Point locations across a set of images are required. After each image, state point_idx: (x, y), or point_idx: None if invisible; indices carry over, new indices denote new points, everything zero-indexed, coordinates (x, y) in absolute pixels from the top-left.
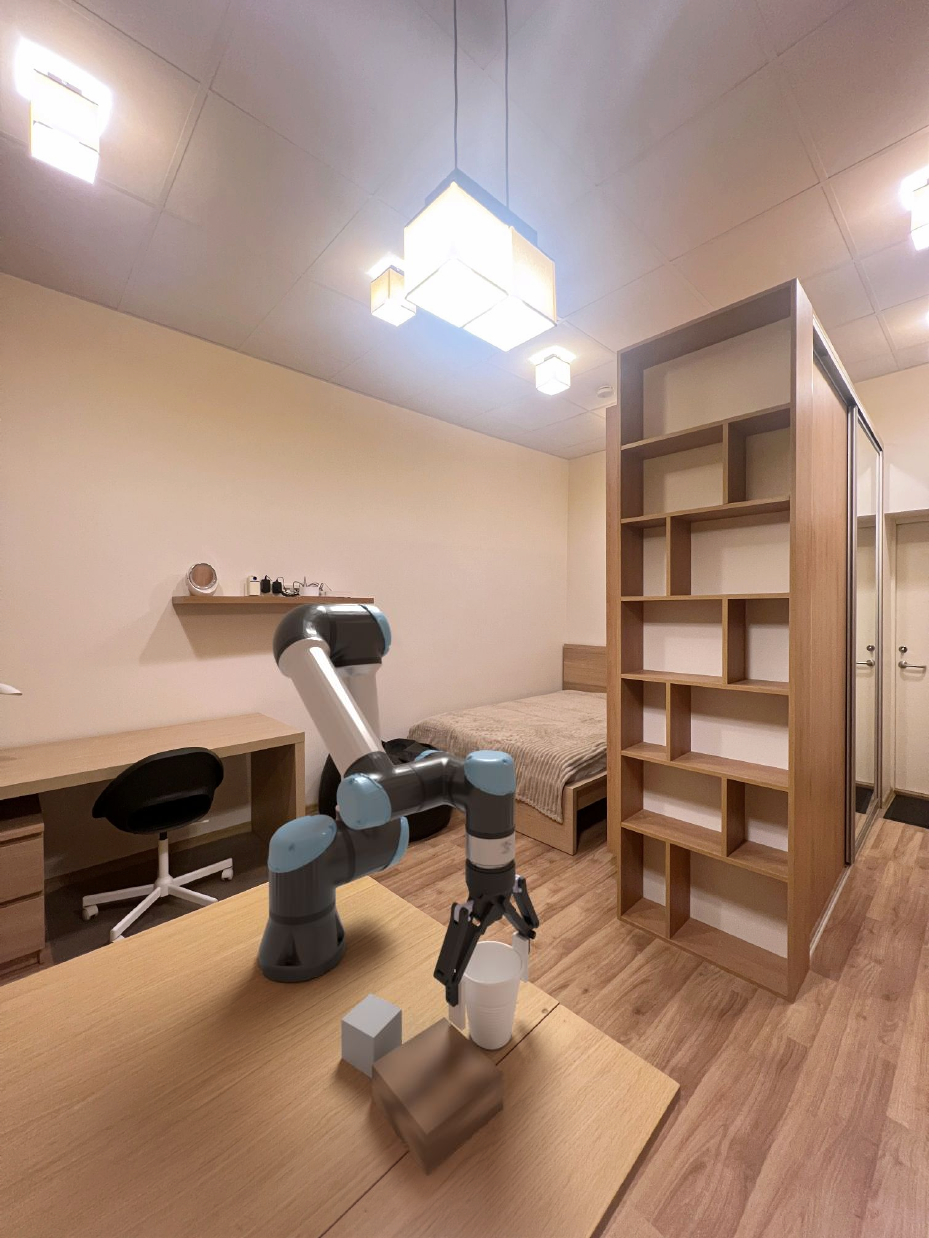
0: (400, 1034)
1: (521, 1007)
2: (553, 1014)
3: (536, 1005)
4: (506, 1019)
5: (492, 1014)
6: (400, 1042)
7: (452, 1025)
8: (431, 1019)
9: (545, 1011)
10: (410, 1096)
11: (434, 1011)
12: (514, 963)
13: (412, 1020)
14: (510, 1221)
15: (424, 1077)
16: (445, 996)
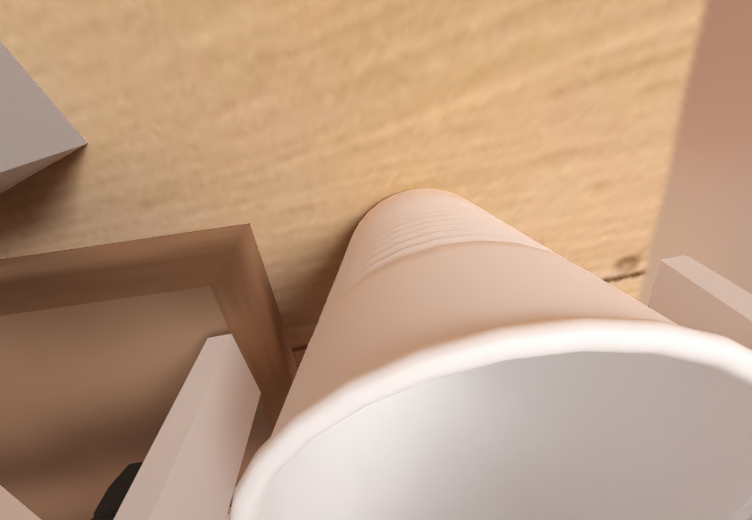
0: (30, 163)
1: (588, 214)
2: (630, 286)
3: (631, 233)
4: (435, 392)
5: (379, 422)
6: (57, 154)
7: (229, 333)
8: (253, 63)
9: (625, 267)
10: (12, 463)
11: (284, 21)
12: (666, 443)
13: (162, 10)
14: (229, 509)
15: (65, 442)
16: (98, 505)
